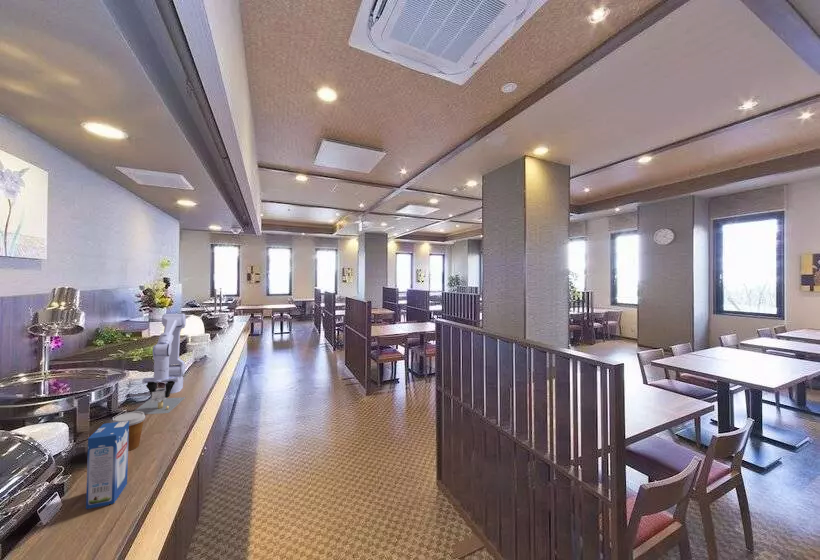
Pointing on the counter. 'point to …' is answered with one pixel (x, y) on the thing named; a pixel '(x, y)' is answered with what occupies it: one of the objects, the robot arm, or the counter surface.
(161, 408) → the base plate
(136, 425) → the disposable coffee cup
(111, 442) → the milk carton
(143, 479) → the counter surface
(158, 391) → the metal bracket with prongs
